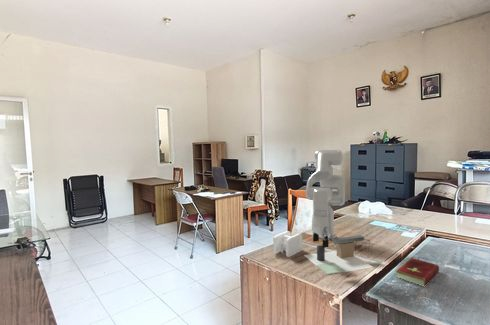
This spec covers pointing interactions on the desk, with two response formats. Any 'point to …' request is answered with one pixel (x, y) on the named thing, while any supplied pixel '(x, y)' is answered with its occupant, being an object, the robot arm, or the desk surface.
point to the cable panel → (339, 260)
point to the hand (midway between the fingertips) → (320, 244)
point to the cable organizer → (287, 243)
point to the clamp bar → (348, 239)
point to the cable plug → (320, 253)
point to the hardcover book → (417, 271)
